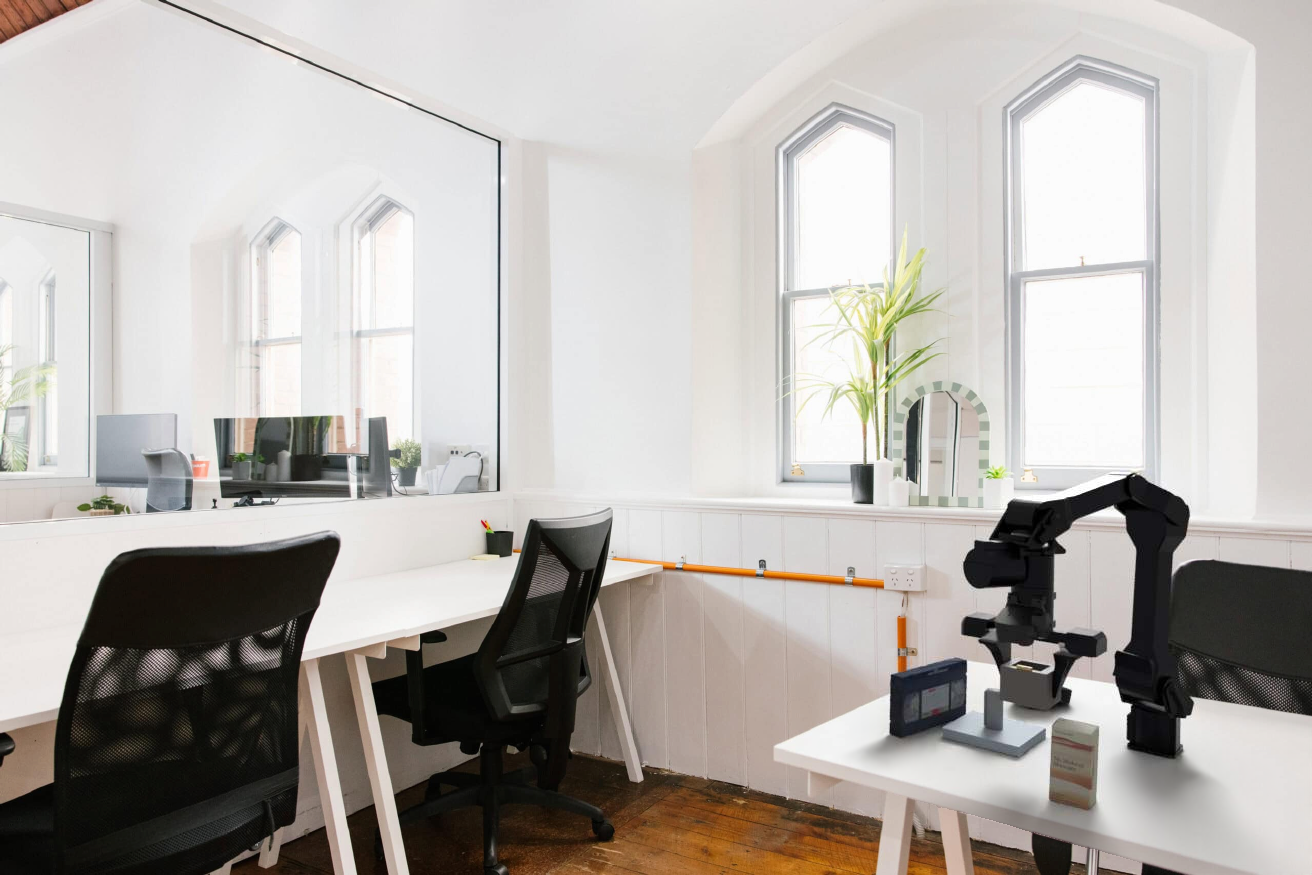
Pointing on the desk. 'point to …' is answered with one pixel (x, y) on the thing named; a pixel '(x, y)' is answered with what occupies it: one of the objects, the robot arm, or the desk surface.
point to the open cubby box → (1027, 683)
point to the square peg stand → (994, 728)
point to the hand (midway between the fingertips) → (1030, 692)
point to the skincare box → (1074, 763)
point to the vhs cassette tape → (927, 697)
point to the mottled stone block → (1062, 697)
